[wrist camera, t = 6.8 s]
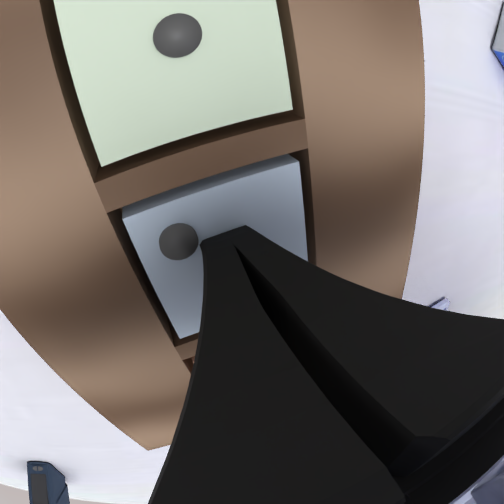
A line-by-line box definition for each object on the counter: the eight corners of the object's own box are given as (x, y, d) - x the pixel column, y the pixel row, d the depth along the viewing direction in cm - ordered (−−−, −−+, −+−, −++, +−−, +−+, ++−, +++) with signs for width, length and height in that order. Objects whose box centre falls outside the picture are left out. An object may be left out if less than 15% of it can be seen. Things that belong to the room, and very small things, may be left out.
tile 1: (261, 98, 9) (295, 110, 7) (106, 144, 8) (100, 168, 6) (235, -44, 6) (264, -67, 4) (66, -4, 5) (48, -22, 3)
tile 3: (285, 256, 12) (311, 292, 11) (170, 299, 12) (180, 342, 10) (268, 141, 10) (301, 163, 8) (122, 188, 9) (122, 222, 7)
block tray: (359, 318, 19) (387, 353, 16) (138, 405, 16) (147, 450, 14) (344, -71, 7) (400, -88, 4) (-62, 32, 4) (-113, 34, 2)
